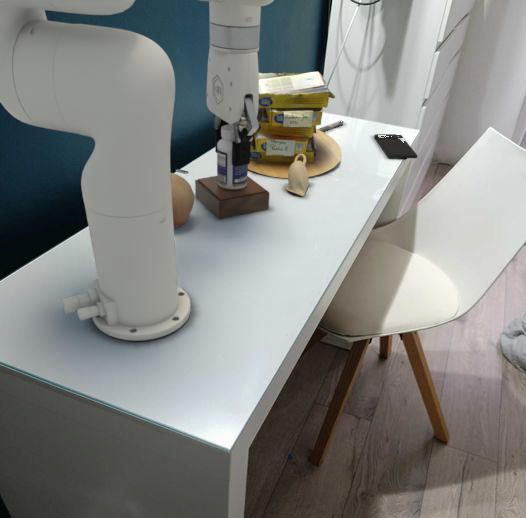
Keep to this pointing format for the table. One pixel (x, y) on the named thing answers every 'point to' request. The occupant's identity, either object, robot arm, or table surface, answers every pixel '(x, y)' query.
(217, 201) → the block
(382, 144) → the smartphone
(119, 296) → the robot arm
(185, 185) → the fruit
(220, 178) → the pill bottle
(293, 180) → the decorative ornament
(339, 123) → the pen
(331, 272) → the table surface
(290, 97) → the boxes on round tray
